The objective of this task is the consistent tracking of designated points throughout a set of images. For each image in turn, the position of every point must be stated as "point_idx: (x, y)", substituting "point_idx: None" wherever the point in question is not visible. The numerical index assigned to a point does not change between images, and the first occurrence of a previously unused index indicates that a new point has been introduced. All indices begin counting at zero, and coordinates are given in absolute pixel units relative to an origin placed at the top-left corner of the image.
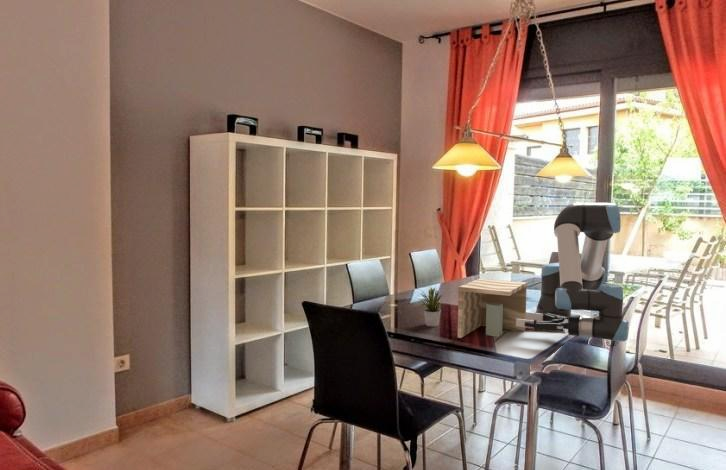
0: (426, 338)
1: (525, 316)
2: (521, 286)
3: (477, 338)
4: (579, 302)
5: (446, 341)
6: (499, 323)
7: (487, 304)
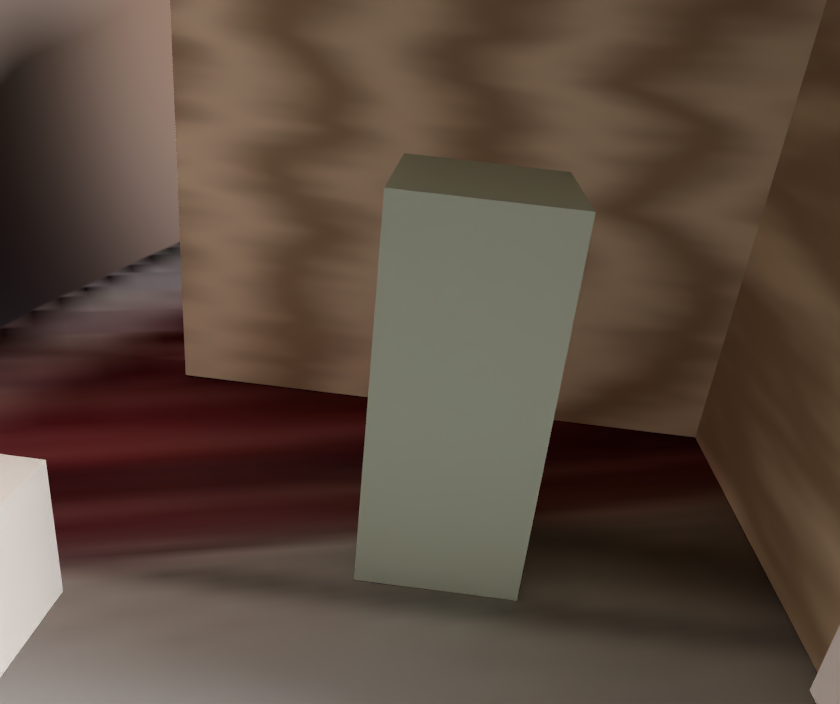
0: (130, 278)
1: (833, 648)
2: None
3: (203, 447)
4: None
5: (59, 330)
6: (399, 445)
7: (409, 155)
